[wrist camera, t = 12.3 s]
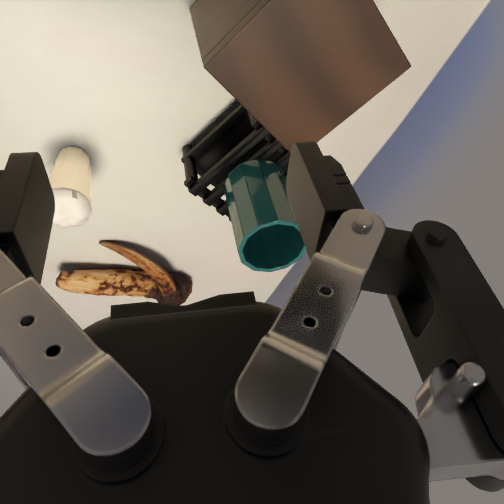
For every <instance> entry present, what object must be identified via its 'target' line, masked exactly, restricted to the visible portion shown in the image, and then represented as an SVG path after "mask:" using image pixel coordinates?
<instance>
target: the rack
mask: <svg viewBox="0 0 504 504" xmlns="http://www.w3.org/2000/svg"><path fill="white" fill-rule="evenodd" d="M182 152H183V157H182V158H181V160H182V162H183V163H184V167H185V175H186V180H185V181H184V185H185V186H186V187H188V190H189V192H190V193H192V194H193V195H194V196H197V195H199V196H200V197H202V198H203V202H204V203H206V204H207V205H208V206H211V205H213V206H214V207H215V208H216V211H217V212H218V213H219V214H221V215H222V216H223V215H227V216H228V217H229V221H231V218H230V213H229V209H228V204H227V200H225V201H224V200H222V199H221V198H220V197H222V196H223V195H224V194H225V191H224V185H225V182H226V180H227V177H228V174H229V173H230V172H231V171H232V170H234V169H235V168H236V167H237V166H238V165H240V164H241V163H244V162H247V161H251V160H255V159H261V160H266V161H272V162H274V163H275V164H276V165H277V166H278V167H279V168H281V169H282V170H283V172H284V174H285V177H286V179H287V172H288V166H289V159H290V152H289V151H288V150H287V149H286V148H285V147H284V146H283V145H282V144H281V143H280V142H279V141H278V140H277V139H276V138H275V137H274V136H273V135H272V134H271V133H270V132H269V131H268V130H267V129H266V128H265V127H264V126H263V125H262V124H261V123H260V122H259V121H258V120H257V119H255V118H254V117H253V116H252V115H251V114H250V113H249V112H248V111H247V110H246V109H245V108H244V107H243V106H242V105H241V104H240V105H239V106H238V107H237V108H236V109H235V110H234V111H232V112H231V113H230V114H229V115H228V116H227V117H226V118H225V119H224V120H223V121H222V122H221V123H219V124H218V125H217V126H216V127H215V128H214V129H213V130H212V131H211V132H210V133H209V134H207V135H206V136H205V137H204V138H203V139H202V140H201V141H200V142H199V143H198V144H197V145H196V146H194V147H192V146H190V145H185V146H184V147H183V149H182ZM197 174H199V175H200V176H201V177H200V178H199V179H198V176H197ZM210 184H212V185H213V186H214V187H215V188H214V189H213V190H212V191H210V190H209V189H208V188H206V187H207V186H209V185H210Z"/></svg>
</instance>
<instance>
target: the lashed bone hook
mask: <svg viewBox="0 0 504 504" xmlns="http://www.w3.org/2000/svg"><path fill="white" fill-rule="evenodd" d="M99 243H100V244H101V245H103V246H105V247H107V248H109V249H111V250H113V251H115V252H117V253H118V254H120V255H122V256H124V257H126V258H127V259H129V260H130V261H132V262H133V263H135V264H136V265H138V266H139V267H140V268H142V269H143V270H144V271H146V272H142V271H139V272H136V271H131V270H123V269H109V270H95V269H92V270H73V272H72V273H68V272H67V271H62V272H60V275H59V276H58V277H57V279H56V286H57V287H59V288H60V289H63V290H65V291H69V292H74V293H82V294H92V295H107V296H115V295H117V296H120V295H127V296H144V297H147V298H153V299H156V300H157V301H158V303H162V304H171V305H181V304H182V303H184V302H185V301H186V299H187V298H188V296H189V294H191V292H192V281H191V280H187V279H185V278H183V277H182V276H180V275H179V274H177V275H175V274H171V275H169V274H168V272H167V271H166V270H165V269H163V268H162V267H161V266H160V265H159V264H157V263H156V262H155V261H153V260H152V259H150V258H149V257H147V256H145V255H144V254H142V253H140V252H138V251H136V250H134V249H132V248H130V247H127V246H125V245H122V244H119V243H115V242H109V241H100V242H99Z"/></svg>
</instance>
